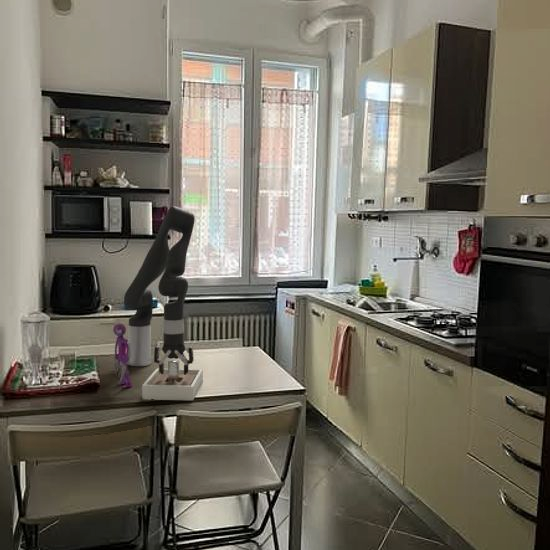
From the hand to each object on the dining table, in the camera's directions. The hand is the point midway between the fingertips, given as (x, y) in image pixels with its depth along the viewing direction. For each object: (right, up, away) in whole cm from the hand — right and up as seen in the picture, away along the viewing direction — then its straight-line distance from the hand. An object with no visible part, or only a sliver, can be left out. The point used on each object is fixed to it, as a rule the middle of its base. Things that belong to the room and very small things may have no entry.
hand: (173, 374), depth 210 cm
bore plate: (0, -6, +1) cm, 6 cm away
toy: (-21, -6, +4) cm, 22 cm away
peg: (0, -5, +1) cm, 5 cm away
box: (0, -6, +1) cm, 6 cm away
